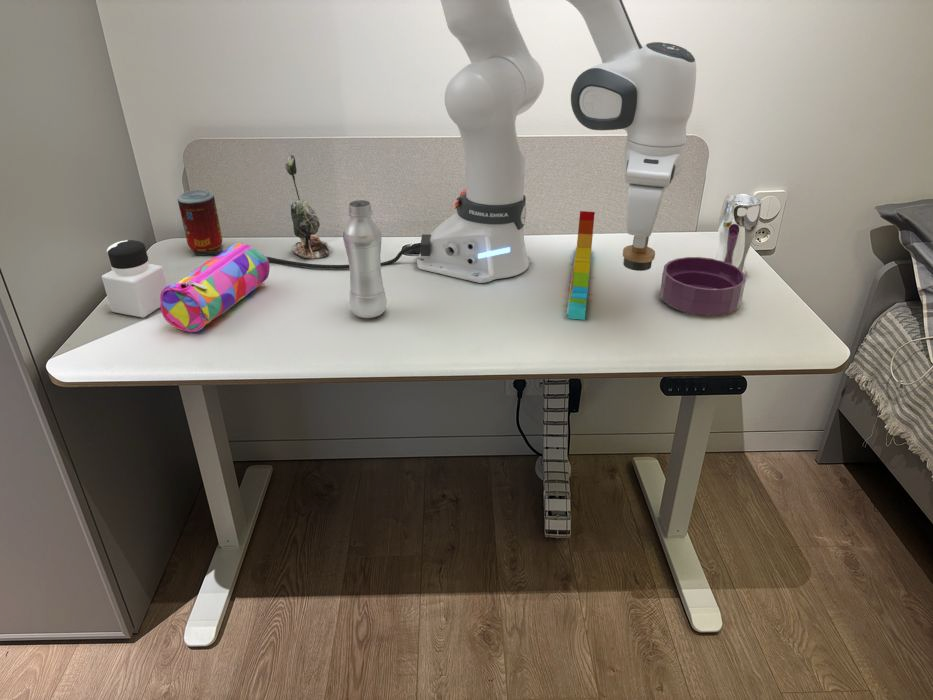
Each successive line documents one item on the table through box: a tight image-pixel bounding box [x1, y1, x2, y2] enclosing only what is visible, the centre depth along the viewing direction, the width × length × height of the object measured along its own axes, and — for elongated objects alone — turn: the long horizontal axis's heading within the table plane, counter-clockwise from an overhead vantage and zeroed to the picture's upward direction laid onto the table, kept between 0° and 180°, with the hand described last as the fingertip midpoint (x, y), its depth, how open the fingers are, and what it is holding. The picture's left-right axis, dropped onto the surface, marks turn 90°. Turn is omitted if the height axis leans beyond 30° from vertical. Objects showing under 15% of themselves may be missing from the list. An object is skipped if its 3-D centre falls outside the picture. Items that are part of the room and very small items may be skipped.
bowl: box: [659, 256, 747, 317], centre depth 125 cm, size 14×14×6 cm
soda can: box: [177, 189, 223, 256], centre depth 144 cm, size 7×7×12 cm
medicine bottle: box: [101, 239, 168, 319], centre depth 122 cm, size 7×7×12 cm
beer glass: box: [715, 193, 763, 275], centre depth 133 cm, size 7×7×15 cm
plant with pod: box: [284, 154, 331, 260], centre depth 140 cm, size 8×11×20 cm
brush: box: [622, 235, 656, 272], centre depth 114 cm, size 5×5×9 cm
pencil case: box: [160, 242, 271, 333], centre depth 122 cm, size 22×9×9 cm, turn 163°
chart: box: [566, 210, 596, 321], centre depth 129 cm, size 30×3×15 cm, turn 169°
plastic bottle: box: [342, 199, 388, 319], centre depth 117 cm, size 6×7×20 cm
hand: (640, 242), depth 114 cm, fingers closed on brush, 2 cm apart
